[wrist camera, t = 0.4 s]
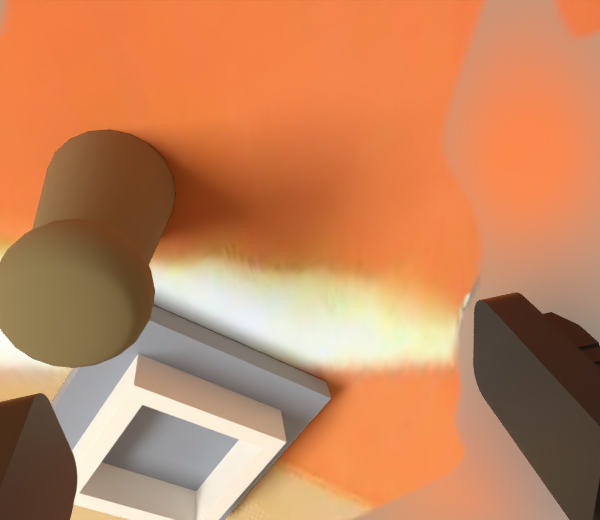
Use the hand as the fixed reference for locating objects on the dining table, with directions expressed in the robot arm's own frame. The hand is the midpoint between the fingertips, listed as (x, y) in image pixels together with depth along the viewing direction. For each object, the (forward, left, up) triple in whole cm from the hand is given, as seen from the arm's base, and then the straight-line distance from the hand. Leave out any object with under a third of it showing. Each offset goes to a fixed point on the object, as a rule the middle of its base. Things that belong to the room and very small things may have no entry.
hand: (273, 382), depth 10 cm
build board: (+18, +7, -18) cm, 27 cm away
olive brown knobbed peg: (+6, -3, -19) cm, 20 cm away
